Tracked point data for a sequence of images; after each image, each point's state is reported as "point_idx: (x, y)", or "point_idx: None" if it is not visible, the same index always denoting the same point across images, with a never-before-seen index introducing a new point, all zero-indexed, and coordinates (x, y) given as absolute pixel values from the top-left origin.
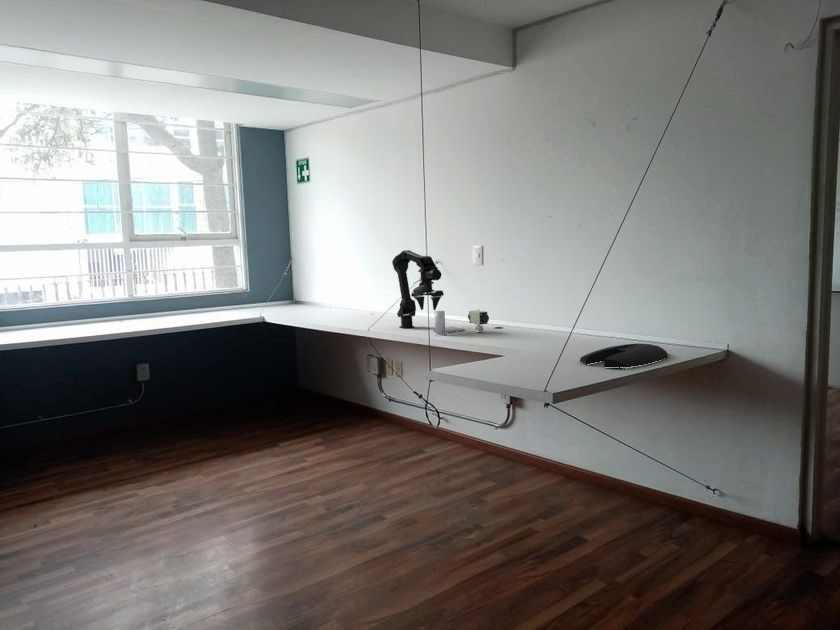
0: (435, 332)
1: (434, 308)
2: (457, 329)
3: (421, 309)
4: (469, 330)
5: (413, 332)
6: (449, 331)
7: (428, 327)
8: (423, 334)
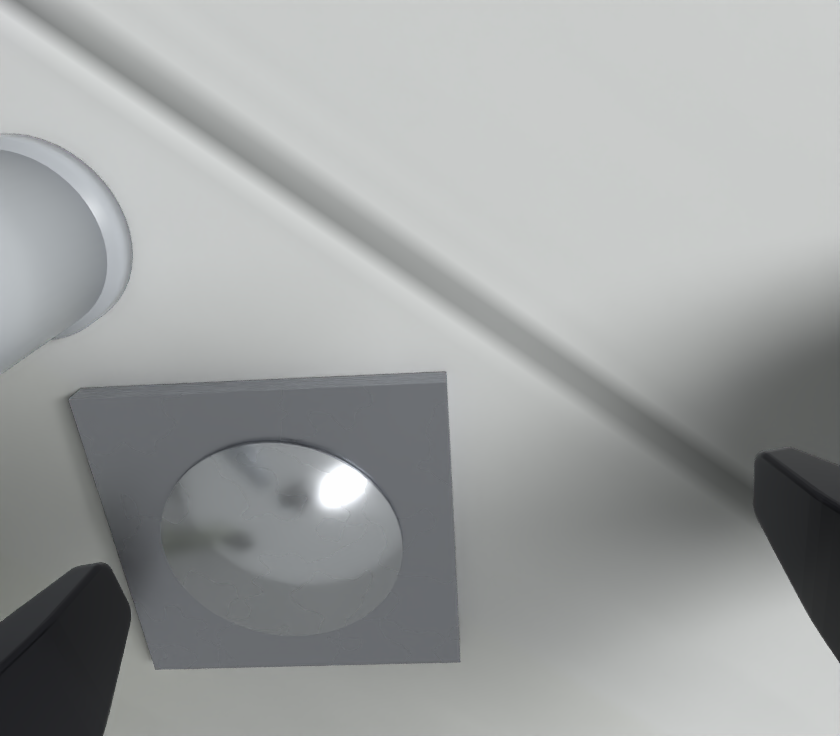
0: (13, 156)
1: (34, 617)
2: (189, 600)
3: (769, 455)
4: (138, 683)
5: (628, 33)
6: (90, 437)
7: None
8: (258, 25)
